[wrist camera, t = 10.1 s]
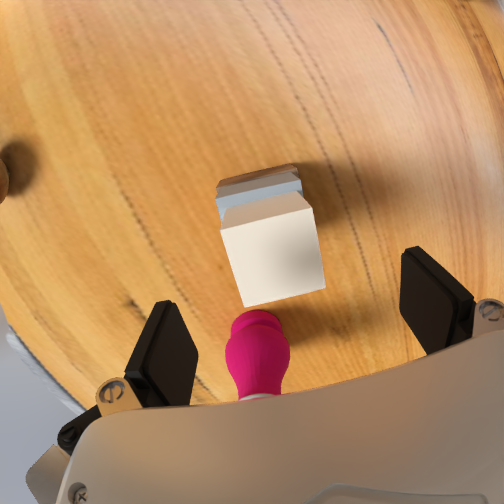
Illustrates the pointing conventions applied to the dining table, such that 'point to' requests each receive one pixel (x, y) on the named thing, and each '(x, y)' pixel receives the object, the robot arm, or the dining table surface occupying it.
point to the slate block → (256, 190)
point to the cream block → (273, 248)
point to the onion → (3, 181)
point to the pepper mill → (257, 355)
